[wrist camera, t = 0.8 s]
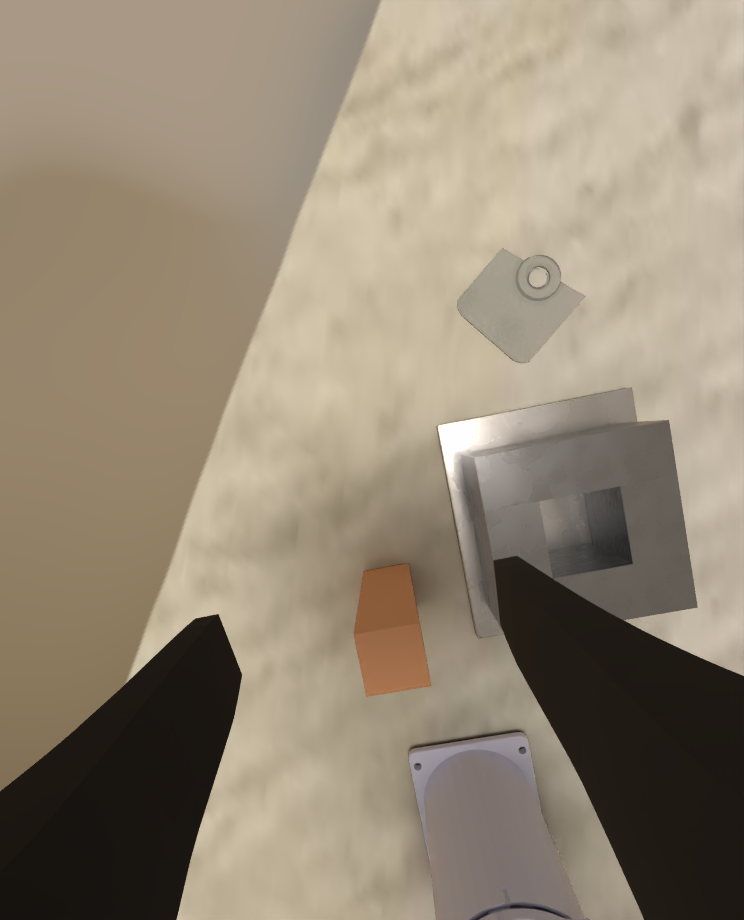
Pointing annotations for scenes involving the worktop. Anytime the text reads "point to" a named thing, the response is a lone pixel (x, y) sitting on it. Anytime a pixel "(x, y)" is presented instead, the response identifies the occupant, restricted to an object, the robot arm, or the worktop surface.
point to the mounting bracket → (518, 304)
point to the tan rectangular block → (389, 633)
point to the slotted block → (571, 504)
